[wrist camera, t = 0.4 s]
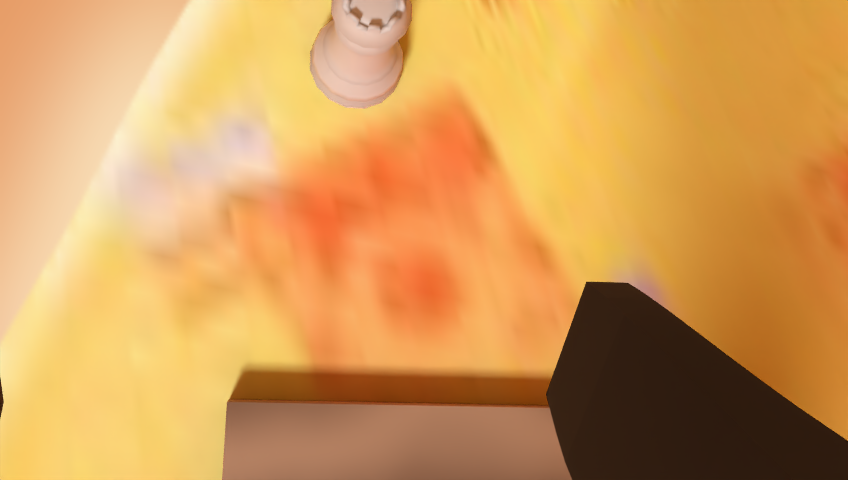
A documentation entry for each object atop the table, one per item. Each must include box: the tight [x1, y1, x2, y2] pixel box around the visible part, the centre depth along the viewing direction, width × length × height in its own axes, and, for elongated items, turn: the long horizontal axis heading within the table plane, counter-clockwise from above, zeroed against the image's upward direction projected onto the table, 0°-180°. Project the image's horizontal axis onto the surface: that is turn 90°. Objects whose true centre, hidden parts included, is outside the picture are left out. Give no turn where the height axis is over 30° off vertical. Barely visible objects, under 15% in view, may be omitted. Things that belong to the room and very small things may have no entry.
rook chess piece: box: [310, 0, 412, 108], centre depth 35 cm, size 4×4×8 cm
